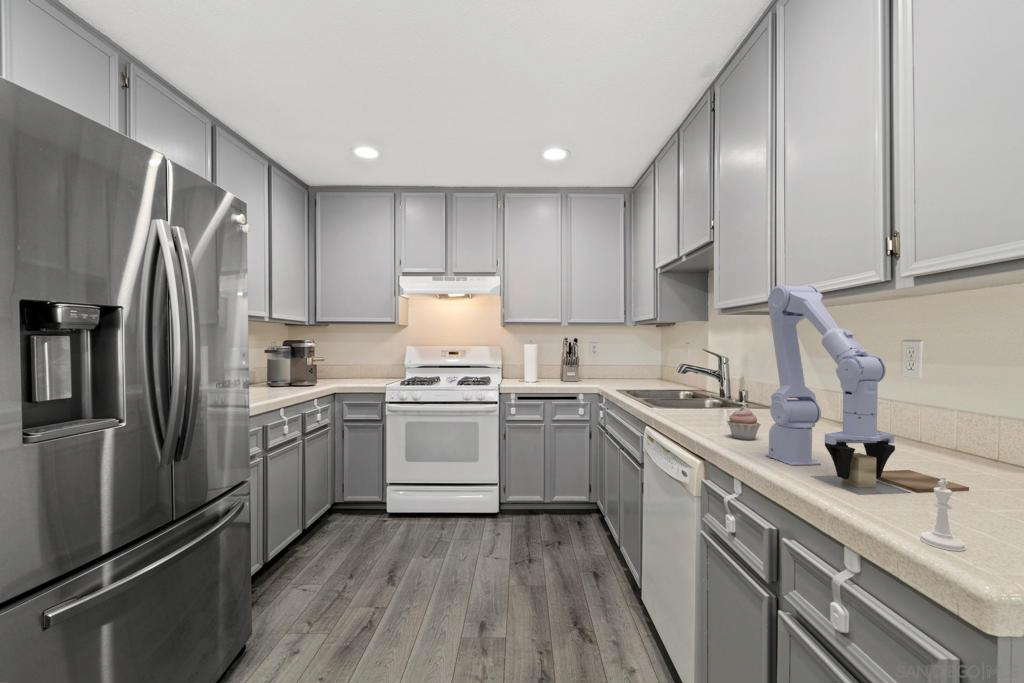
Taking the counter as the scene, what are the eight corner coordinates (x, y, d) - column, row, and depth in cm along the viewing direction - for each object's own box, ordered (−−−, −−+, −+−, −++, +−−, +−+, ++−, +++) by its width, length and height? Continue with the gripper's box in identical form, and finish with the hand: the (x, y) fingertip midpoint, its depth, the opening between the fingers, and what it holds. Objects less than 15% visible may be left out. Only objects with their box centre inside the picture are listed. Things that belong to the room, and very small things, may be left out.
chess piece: (912, 539, 68) (913, 473, 68) (931, 534, 70) (932, 470, 70) (953, 553, 64) (954, 483, 64) (973, 548, 66) (974, 480, 66)
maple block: (842, 481, 96) (842, 453, 96) (858, 480, 97) (859, 452, 96) (858, 487, 92) (859, 458, 92) (875, 486, 93) (876, 457, 93)
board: (862, 475, 101) (862, 471, 101) (909, 473, 103) (909, 470, 103) (917, 493, 89) (917, 489, 89) (968, 491, 91) (969, 487, 91)
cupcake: (721, 434, 143) (721, 403, 143) (751, 435, 143) (751, 404, 143) (734, 441, 134) (735, 408, 134) (766, 441, 134) (766, 408, 134)
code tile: (810, 476, 99) (810, 476, 99) (858, 475, 101) (858, 474, 101) (858, 495, 88) (858, 494, 88) (912, 493, 89) (912, 492, 89)
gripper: (845, 416, 89) (844, 484, 89) (909, 415, 91) (908, 482, 91) (816, 411, 96) (816, 473, 96) (876, 410, 98) (875, 472, 98)
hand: (858, 477), depth 94 cm, fingers open, 7 cm apart
